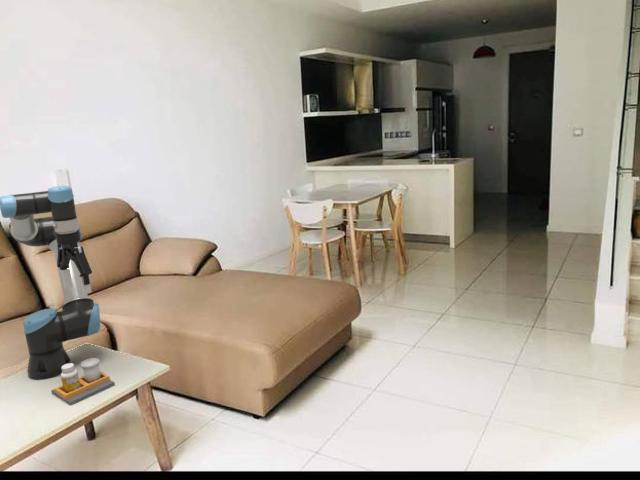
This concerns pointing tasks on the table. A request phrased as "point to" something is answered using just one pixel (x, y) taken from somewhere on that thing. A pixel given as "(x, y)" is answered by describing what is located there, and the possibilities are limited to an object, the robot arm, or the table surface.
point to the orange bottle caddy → (86, 383)
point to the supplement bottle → (69, 378)
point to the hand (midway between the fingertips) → (77, 290)
